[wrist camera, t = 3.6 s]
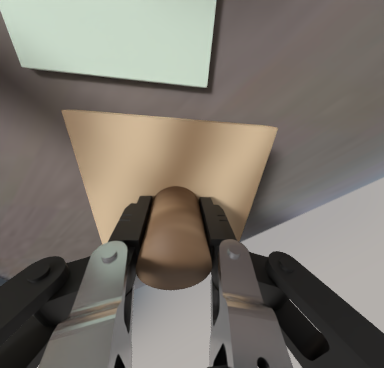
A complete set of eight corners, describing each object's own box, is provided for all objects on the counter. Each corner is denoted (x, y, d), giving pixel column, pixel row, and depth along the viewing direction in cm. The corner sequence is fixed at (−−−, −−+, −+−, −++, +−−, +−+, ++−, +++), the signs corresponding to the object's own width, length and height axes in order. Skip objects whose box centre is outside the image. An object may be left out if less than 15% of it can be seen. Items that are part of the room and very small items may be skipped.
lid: (268, 125, 9) (371, 148, 4) (230, 246, 14) (258, 317, 9) (74, 109, 8) (-95, 115, 3) (111, 248, 13) (72, 332, 8)
